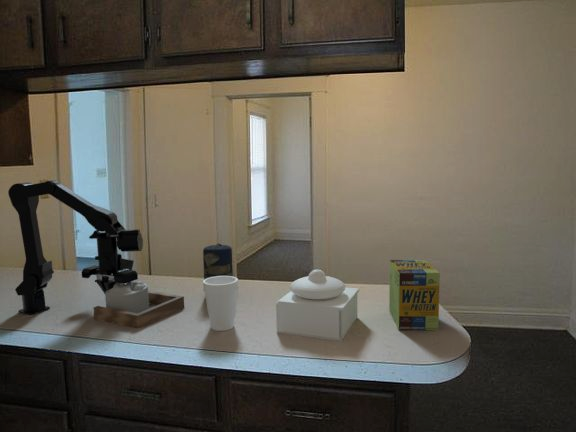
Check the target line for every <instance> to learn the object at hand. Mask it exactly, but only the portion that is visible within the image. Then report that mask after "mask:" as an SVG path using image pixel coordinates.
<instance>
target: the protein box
mask: <svg viewBox="0 0 576 432" xmlns="http://www.w3.org/2000/svg"><path fill="white" fill-rule="evenodd" d="M440 275H441V273H440V271H438V270H437V269H436V268H435V267H434V266H433V265H432V264H430V262H428V261H427V260H426V259H425V260H423V259H422V260H421V259H390V260H389V292H388V293H389V297H388V298H389V299H388V302H389V303H388V305H389V306H388V309H389V313H390V315H391V318H392V320H393V322H394V324H395V325H396V327H397V329H398V331H439V321H440V320H439V319H440V318H439V314H440V311H439V310H440Z"/></svg>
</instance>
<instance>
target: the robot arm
mask: <svg viewBox="0 0 576 432" xmlns="http://www.w3.org/2000/svg"><path fill="white" fill-rule="evenodd" d="M7 194H8V197H9V200H10V203H11V206H12V207H13V209H15V211H16V212H17V214H18V220H19V224H20V231H21V236H22V237H21V238H22V243H23V249H24V255H25V263H24V266H23V269H22V281H21V282H20V283H19V285H17V287H16V288H15V290H14V291H15V293H16V294H17V296H21V298H22V299H21V300H22V309H18V313H21V314H26V315H31V316H32V315H34V314H38V313H40V312H43V311H47V310H49V309H51V307H50V306H49V305H46V298H45V296H46V295H45V291H44V289H45V288H47V287H48V283H49V282H50V281H51V280H52V279H53V274H54V273H55V271H54V270H53V261H52V260H49V261H47V259H46V258H45V256H44V251H43V246H42V245H43V244H42V241H41V240H42V239H41V234H40V227H39V221H38V215H37V210H38V205H39V201H40V196H45V195H50V196H51V197H53V198H54V199H56V200H57V201H59V202H60V203H62V204H64V205H66V206H67V207H69V208H70V209H72V210H73V211H75V212H77V214H80V215H81V216H83V217H84V219H85V220H86V221H87V223H89V225H90V226H92V228H94V229H95V230H94V231H93V233H92V234H91V235H89V237H88V238H89V239H90V240H93V239H95V240H96V248H97V255H95V256H94V260H95V261H98V262H97V263H98V265H93V266H87V267H84V268H83V269H82V271H81V278H83V279H90V277H91V276H96V279H95V280H94V283H96V284H97V286H98V287H99V288H100V289H101V291H102V292H103V293H104V295H105V292H106V291H107V290H110V289H112V288H113V286H114V285H115V284H116V283H121V284H126V283H128V282H131V281H137V280H139V277H138V272H137V271H136V270H134V269H133V266H134V260H133V259H132V260H131V259H128V258H127V259H126V258H123V257H122V254H121V253H119V251H118V250H120V251H121V252H122V253H124V252H128V253H129V252H142V250H143V246H144V239H143V236H142V233H141V230H140V228H138V229H137V228H136V229H126V228H125V227H124V226H123V225H122V224H121V222H119V219H118V216H117V214H116V213H115V212H113V211H112V210H109V209H107V208H105V207H102V206H99V205H96V204H93V203H92V202H90V201H88V200H87V199H85V198H83V197H82V196H80V195H79V194H78V193H76V192H74V191H72V190H71V189H70V188H68V187H66V186H65V185H63V184H62V183H61V182H60V181H58V180H54V179H52V180H47V181H44V182H37V183H33V182H28V181H27V182H19V183H14V184H12V185H11V186H10V187H9V188H8V193H7Z"/></svg>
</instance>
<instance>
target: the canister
mask: <svg viewBox="0 0 576 432" xmlns="http://www.w3.org/2000/svg"><path fill="white" fill-rule="evenodd" d="M202 252H203V253H202V256H203V257H202V259H203V260H202V261H203V280H205V279H207V278H210V277H215V276H233V277H234V272H233V271H234V269H233V249H232V247H231V246H230V245H227V244H221V243H216V244H214V245H213V244H212V245H208V246H205V247H204V248H203V250H202Z"/></svg>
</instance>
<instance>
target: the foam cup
mask: <svg viewBox="0 0 576 432" xmlns="http://www.w3.org/2000/svg"><path fill="white" fill-rule="evenodd" d="M202 286H203V292H204V297H205V298H204V299H205V302H206V306H207V307H206V308H207V313H208V314H207V315H208V319H209V324H210V329H211V330H213V331H218V332H220V331H221V332H224V331H229V330H231V329H233V328H234V327H235V319H236V312H237V311H236V310H237V309H236V307H237V300H238V299H237V298H238V290H239V279H238V277H236V276H234V275H233V276H215V277H210V278H207V279H205V280H204V279H203V280H202Z"/></svg>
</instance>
